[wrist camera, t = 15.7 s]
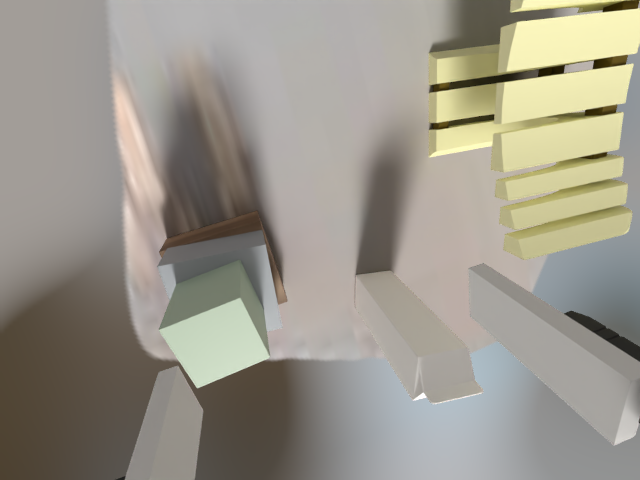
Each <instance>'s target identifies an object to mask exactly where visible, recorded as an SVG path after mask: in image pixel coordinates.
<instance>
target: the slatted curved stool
mask: <svg viewBox="0 0 640 480" xmlns="http://www.w3.org/2000/svg"><path fill="white" fill-rule="evenodd" d="M639 1H640V0H511V5H510V12H519V11H530V10H541V9H553V8H571V7H577V8H579V10H578V12H577V13H580V12H590V11H599V10H603V13H594V14H585V15H576V16H567V17H558V18H548V19H539V20H530V21H521V22H516V23H513V24H510V25H507V26H504V27H501V34H500V44H496V45H488V46H480V47H472V48H463V49H455V50H447V51H439V52H431V53H429V85H433V92H432V93H429V123H433V129H431V130H429V157H434V156H439V155H445V154H450V153H455V152H461V151H466V150H472V149H477V148H483V147H488V146H492V156H491V170H494V171H499V172H508V171H513V170H518V169H523V168H528V167H533V166H538V165H543V164H548V163H553V162H556V165H554V166H551V167H548V168H545V169H541V170H537V171H533V172H529V173H525V174H521V175H516V176H512V177H507V178H502V179H498V180H496V189H495V197H497V198H500V199H504V200H507V201H510V200H515V199H520V198H524V197H529V196H533V195H538V194H542V193H547V192H551V191H556V190H559V191H557V192H555V193H552V194H549V195H546V196H543V197H540V198H536V199H532V200H528V201H525V202H520V203H516V204H512V205H508V206H504V207H501V208H500V219H499V224H502V225H504V226H507V227H509V228H512V229H514V230H517V229H521V228H526V227H530V226H534V225H538V224H541V225H538V226H534V227H531V228H527V229H523V230H520V231H516V232H512V233H508V234H505V238H504V248H503V250H505V251H507V252H509V253H511V254H513V255H515V256H517V257H519V258H521V259H523V260H527V259H531V258H535V257H539V256H543V255H546V254H550V253H554V252H558V251H562V250H566V249H570V248H573V247H577V246H581V245H585V244H588V243H593V242H597V241H600V240H604V239H608V238H612V237H616V236H620V235H623V234H625V233H627V232H628V231H629V227H630V223H631V219H632V211H631V210H630V209H628V208H626V207H624V206H620V205H622V204H625V203H626V199H627V187H628V184H627V183H624V182H622V181H617V180H612V179H611V178H615V177H620V176H622V172H623V160H624V157H621V156H617V155H610V154H607V152H608V151H612V150H618V149H619V143H620V136H621V128H622V121H623V112H616V108H617V104H621V103H625V101H626V95H627V91H628V86H629V81H630V77H631V73H632V69H633V65H634V64H628V65H626V61H627V57H628V55H629V54H635V53H637V50H638V47H639V43H640V8H639V9H638V4H639ZM593 60H594V64H593V69H592V70H585V71H578V72H571V73H564V67H565V65H569V64H575V63H581V62H587V61H593ZM538 69H539V73H538V77H535V78H528V79H521V80H514V81H507V82H501V83H494V84H487V85H480V86H473V87H466V88H459V89H453V90H449V82H455V81H462V80H469V79H476V78H483V77H490V76H497V75H504V74H512V73H518V72H525V71H532V70H538ZM581 110H585V112H577V113H569V112H575V111H581ZM490 114H495V116H494V119H491V120H485V121H479V122H473V123H467V124H461V125H455V126H449V121H452V120H458V119H464V118H470V117H477V116H484V115H490ZM542 223H544V224H542Z"/></svg>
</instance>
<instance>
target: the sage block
mask: <svg viewBox="0 0 640 480" xmlns="http://www.w3.org/2000/svg"><path fill="white" fill-rule="evenodd" d="M159 332H160V333H161V335H162V336H163V338H164V339H165V341H166V342H167V344H168V345H169V347H170V348H171V350H172V351H173V353H174V354H175V356H176V357H177V359H178V360H179V362H180V363H181V365H182V366H183V367H184V369H185V371H186V372H187V374H188V375H189V377H190V378H191V380H192V381H193V382H194V384H195V386H196V387H197V388H199V387H201V386H204V385H206V384H209V383H211V382H213V381H216V380H218V379H221V378H223V377H225V376H227V375H230V374H232V373H235V372H237V371H239V370H242V369H244V368H246V367H249V366H251V365H254V364H256V363H258V362H261V361H263V360H266V359H268V358H270V352H269V345H268V337H267V329H266V322H265V314H264V309H263V307H262V305H261V303H260V301H259V299H258V297H257V294H256V292H255V290H254V288H253V286H252V284H251V282H250V280H249V277H248V275H247V273H246V271H245V269H244V267H243V265H242V263H241V260H237V261H235V262H232V263H229V264H227V265H224V266H222V267H219V268H217V269H214V270H211V271H209V272H206V273H204V274H201V275H199V276H196V277H193V278H191V279H188V280H186V281H183V282H180V283H178V284H176V286H175V289H174V291H173V294H172V297H171V299H170V302H169V304H168V307H167V310H166V312H165V315H164V318H163V320H162V323H161V325H160V328H159Z"/></svg>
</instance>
